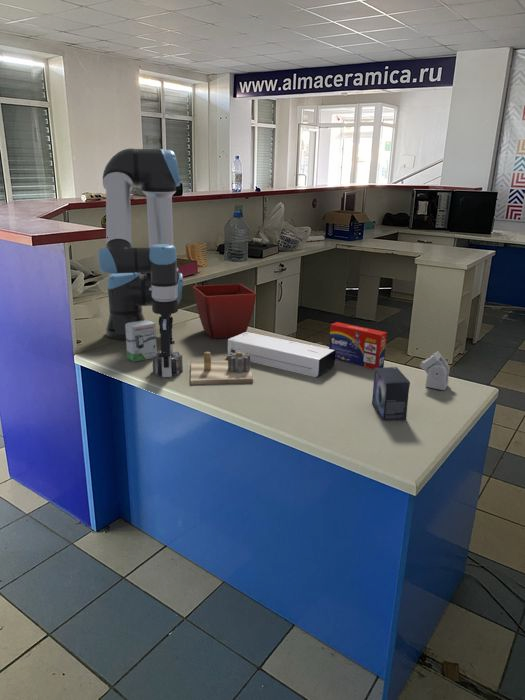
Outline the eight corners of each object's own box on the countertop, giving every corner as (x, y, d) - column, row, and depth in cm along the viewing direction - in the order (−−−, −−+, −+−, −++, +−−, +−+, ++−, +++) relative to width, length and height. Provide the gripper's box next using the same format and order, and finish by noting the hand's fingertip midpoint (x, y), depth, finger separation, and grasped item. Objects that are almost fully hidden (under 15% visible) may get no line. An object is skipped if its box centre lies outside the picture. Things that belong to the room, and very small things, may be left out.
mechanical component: (444, 391, 150) (448, 358, 147) (416, 385, 154) (420, 353, 151) (448, 385, 155) (452, 353, 151) (421, 380, 158) (424, 348, 155)
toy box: (383, 367, 168) (387, 332, 165) (377, 370, 165) (381, 335, 162) (334, 354, 179) (336, 321, 175) (328, 357, 176) (330, 324, 172)
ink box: (133, 362, 168) (131, 326, 164) (126, 358, 172) (124, 323, 168) (157, 357, 173) (156, 322, 170) (150, 353, 177) (148, 319, 173)
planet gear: (154, 366, 165) (153, 351, 164) (183, 365, 166) (182, 350, 165) (152, 377, 157) (151, 361, 155) (182, 376, 158) (181, 360, 156)
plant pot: (240, 324, 212) (240, 282, 207) (256, 338, 195) (257, 293, 190) (193, 328, 205) (192, 285, 200) (206, 342, 189) (205, 296, 183)
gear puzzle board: (191, 365, 167) (190, 344, 165) (248, 363, 169) (248, 343, 167) (190, 384, 152) (190, 362, 150) (252, 382, 154) (253, 361, 152)
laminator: (334, 368, 168) (335, 349, 166) (316, 380, 158) (318, 360, 156) (246, 348, 185) (246, 331, 183) (225, 358, 175) (225, 340, 173)
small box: (369, 403, 142) (373, 366, 138) (393, 402, 142) (397, 366, 139) (381, 421, 132) (385, 382, 128) (407, 420, 132) (411, 381, 129)
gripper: (154, 290, 164) (158, 358, 171) (148, 308, 143) (152, 384, 150) (179, 290, 165) (181, 358, 172) (176, 307, 144) (179, 384, 151)
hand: (168, 370), depth 161 cm, fingers open, 9 cm apart
